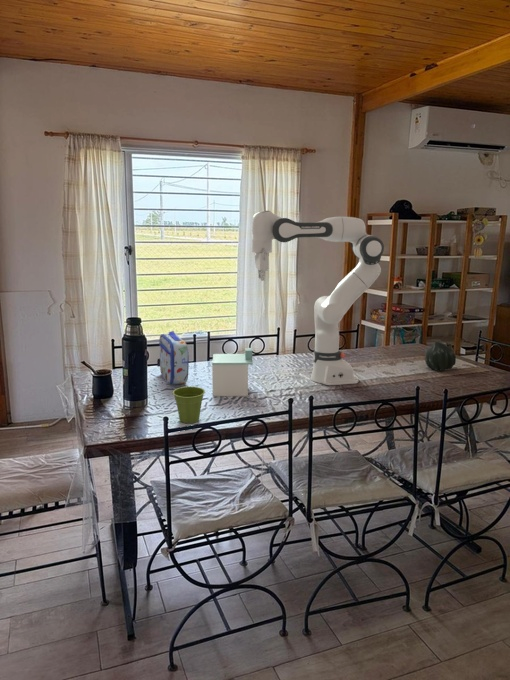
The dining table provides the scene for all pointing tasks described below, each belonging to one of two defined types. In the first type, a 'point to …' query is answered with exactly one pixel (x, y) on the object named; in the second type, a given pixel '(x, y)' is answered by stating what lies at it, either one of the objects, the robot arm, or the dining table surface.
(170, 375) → the lunch box
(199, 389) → the plant pot
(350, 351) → the dining table surface
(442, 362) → the squash
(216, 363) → the lid
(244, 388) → the tub
